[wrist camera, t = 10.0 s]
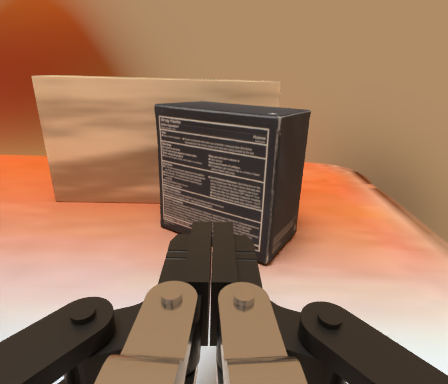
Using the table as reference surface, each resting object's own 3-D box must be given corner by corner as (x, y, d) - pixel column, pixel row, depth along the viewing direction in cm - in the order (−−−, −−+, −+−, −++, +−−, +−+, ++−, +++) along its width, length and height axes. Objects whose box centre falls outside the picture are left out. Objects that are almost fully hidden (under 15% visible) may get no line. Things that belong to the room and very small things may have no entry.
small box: (299, 231, 27) (316, 107, 23) (268, 268, 22) (282, 117, 18) (201, 202, 32) (201, 97, 28) (157, 227, 27) (149, 102, 23)
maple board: (270, 205, 32) (281, 82, 27) (56, 201, 31) (31, 76, 27) (265, 190, 36) (273, 80, 31) (73, 187, 35) (54, 75, 31)
